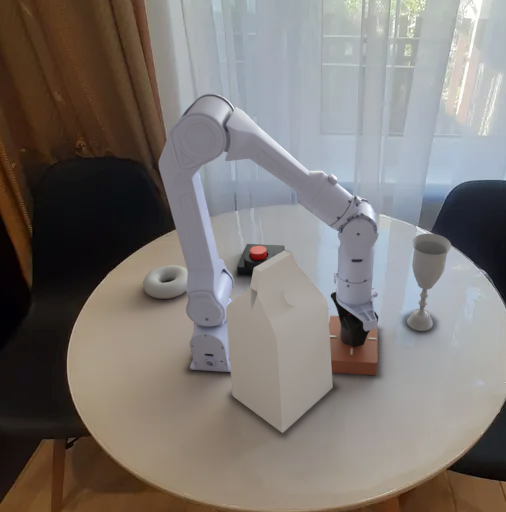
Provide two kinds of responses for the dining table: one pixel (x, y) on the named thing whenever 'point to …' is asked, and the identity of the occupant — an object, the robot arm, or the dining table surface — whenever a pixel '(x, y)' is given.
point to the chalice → (427, 273)
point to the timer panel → (352, 352)
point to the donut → (169, 289)
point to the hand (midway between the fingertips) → (352, 335)
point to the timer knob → (345, 333)
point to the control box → (248, 264)
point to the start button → (258, 253)
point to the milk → (279, 343)
